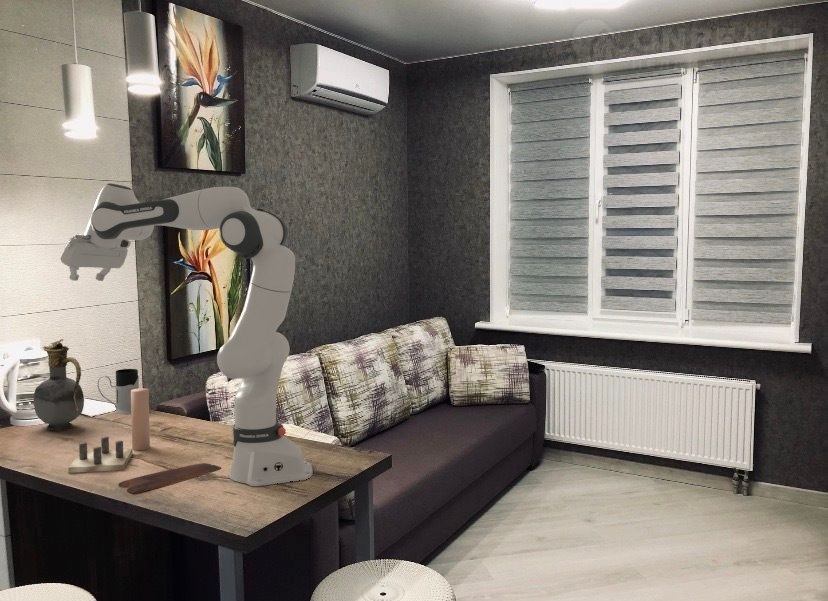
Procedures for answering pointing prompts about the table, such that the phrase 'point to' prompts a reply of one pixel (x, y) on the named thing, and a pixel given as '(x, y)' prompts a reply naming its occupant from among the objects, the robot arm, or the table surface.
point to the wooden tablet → (166, 477)
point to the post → (140, 419)
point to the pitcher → (59, 391)
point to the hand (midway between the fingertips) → (86, 279)
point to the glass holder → (124, 389)
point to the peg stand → (100, 458)
